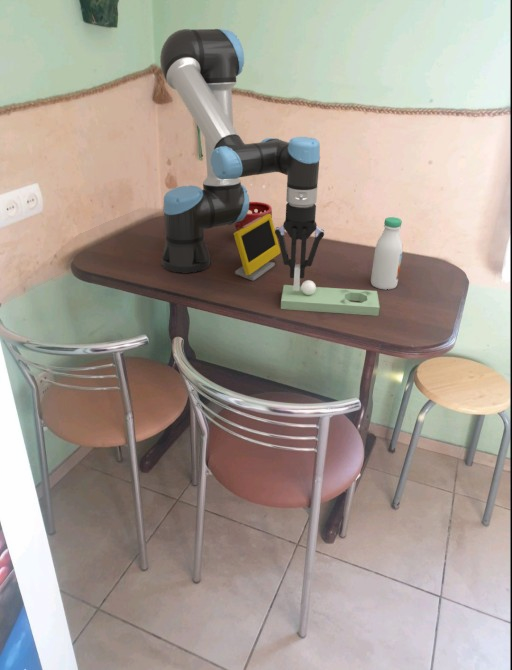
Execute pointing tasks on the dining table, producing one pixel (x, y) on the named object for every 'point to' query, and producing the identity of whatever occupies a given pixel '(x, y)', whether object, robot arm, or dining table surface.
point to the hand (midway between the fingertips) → (296, 288)
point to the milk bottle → (387, 256)
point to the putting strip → (331, 300)
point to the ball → (308, 287)
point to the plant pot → (254, 213)
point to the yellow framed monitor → (257, 247)
